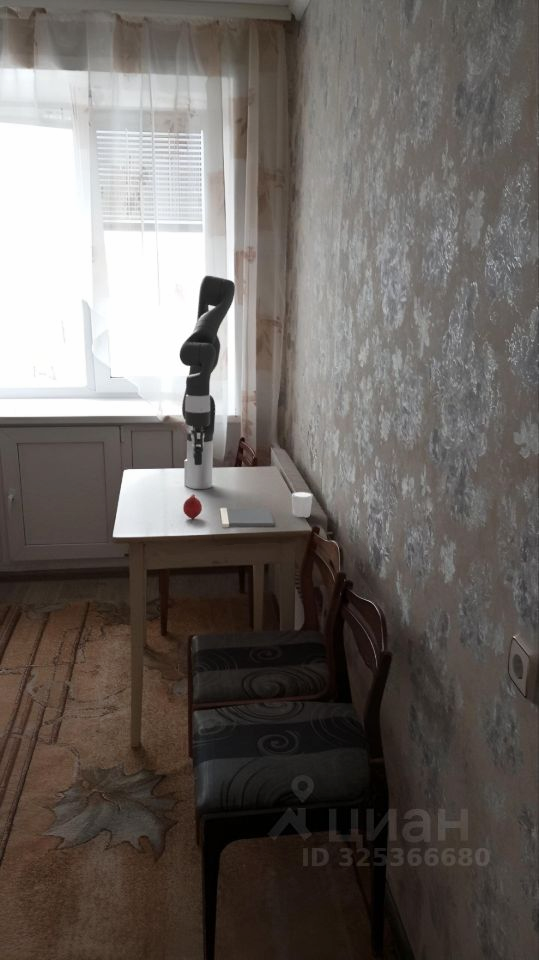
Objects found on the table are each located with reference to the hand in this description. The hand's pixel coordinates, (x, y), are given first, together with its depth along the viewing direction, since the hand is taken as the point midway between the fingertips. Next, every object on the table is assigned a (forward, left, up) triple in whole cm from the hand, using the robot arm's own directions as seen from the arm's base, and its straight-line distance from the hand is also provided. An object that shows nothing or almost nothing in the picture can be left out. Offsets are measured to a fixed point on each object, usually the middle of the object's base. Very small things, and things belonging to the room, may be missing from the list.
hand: (197, 461), depth 230 cm
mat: (+13, +9, -19) cm, 24 cm away
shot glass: (+25, +23, -19) cm, 39 cm away
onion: (-1, -1, -19) cm, 19 cm away
